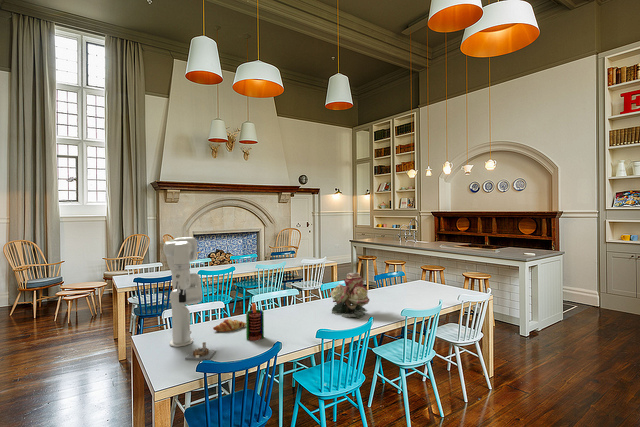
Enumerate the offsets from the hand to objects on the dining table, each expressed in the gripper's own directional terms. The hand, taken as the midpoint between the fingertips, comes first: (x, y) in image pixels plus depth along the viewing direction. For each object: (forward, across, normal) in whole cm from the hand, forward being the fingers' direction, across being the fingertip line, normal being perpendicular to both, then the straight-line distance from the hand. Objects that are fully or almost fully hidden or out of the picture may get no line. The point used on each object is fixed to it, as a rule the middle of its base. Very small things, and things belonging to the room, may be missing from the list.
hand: (182, 302), depth 182 cm
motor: (+29, +28, -31) cm, 51 cm away
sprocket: (+28, +3, -8) cm, 29 cm away
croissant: (+30, +43, -12) cm, 53 cm away
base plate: (+29, +2, -8) cm, 30 cm away
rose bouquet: (+29, +77, -92) cm, 123 cm away
